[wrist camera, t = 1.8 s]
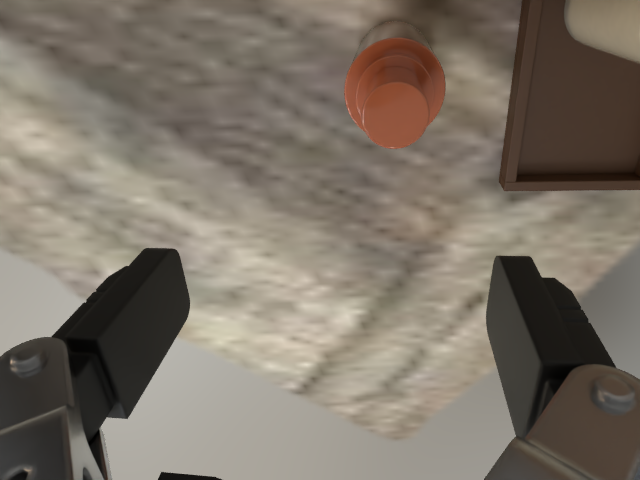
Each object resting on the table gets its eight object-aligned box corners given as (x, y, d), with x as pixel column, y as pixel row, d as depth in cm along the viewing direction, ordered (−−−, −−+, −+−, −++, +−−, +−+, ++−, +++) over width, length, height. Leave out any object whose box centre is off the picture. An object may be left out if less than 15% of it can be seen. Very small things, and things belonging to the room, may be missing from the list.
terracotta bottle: (355, 23, 34) (331, 54, 20) (431, 18, 33) (463, 48, 19) (357, 98, 36) (337, 175, 22) (427, 96, 35) (453, 173, 21)
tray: (555, -251, 26) (567, -267, 24) (772, -281, 24) (801, -301, 22) (498, 181, 38) (503, 191, 36) (639, 180, 36) (651, 190, 35)
